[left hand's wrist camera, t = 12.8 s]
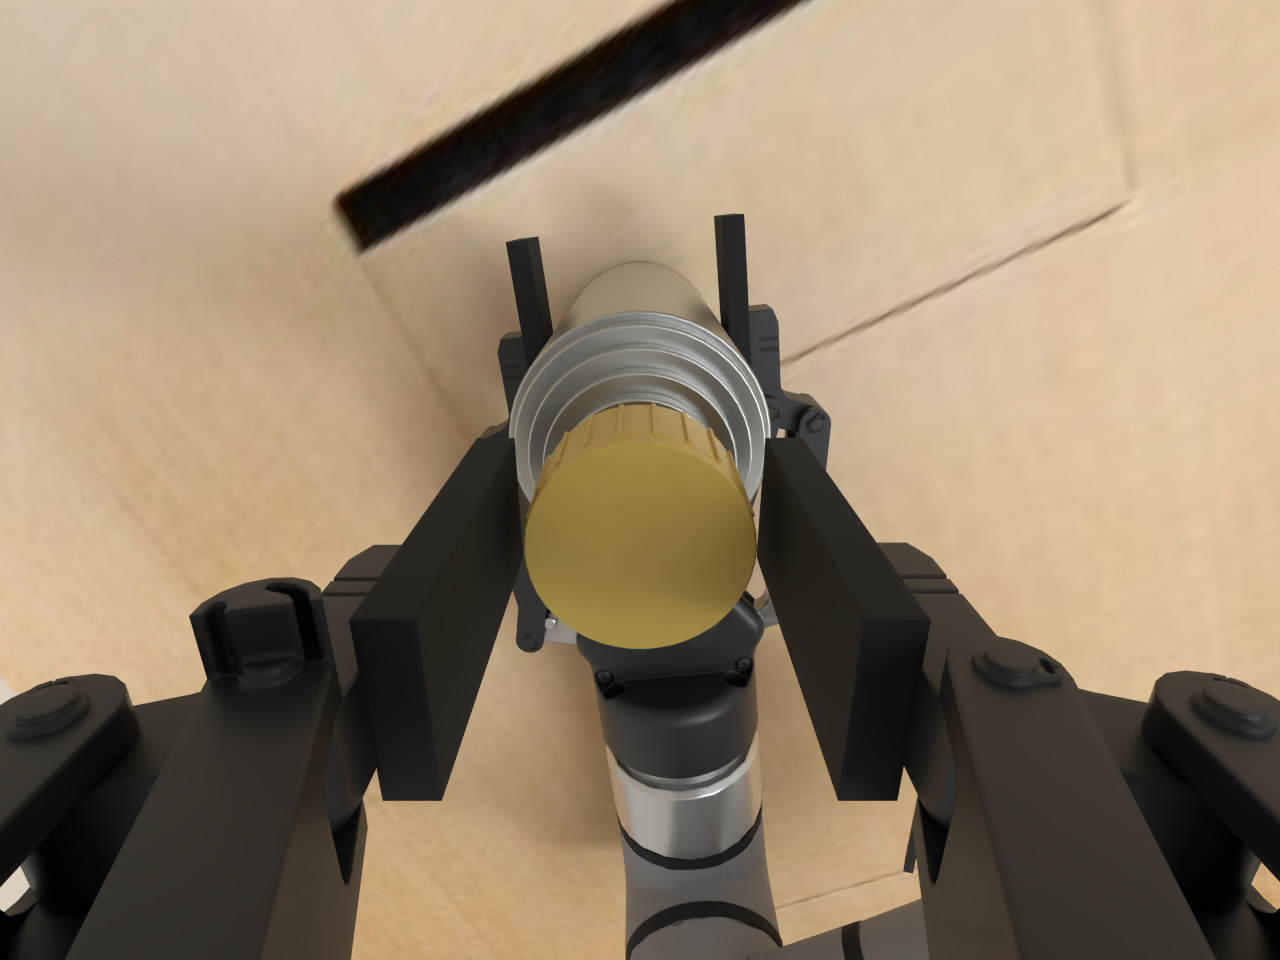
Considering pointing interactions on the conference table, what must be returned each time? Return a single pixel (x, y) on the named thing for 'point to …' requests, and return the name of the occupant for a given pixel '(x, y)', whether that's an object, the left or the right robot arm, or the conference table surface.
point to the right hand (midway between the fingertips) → (624, 228)
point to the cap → (640, 529)
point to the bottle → (640, 370)
